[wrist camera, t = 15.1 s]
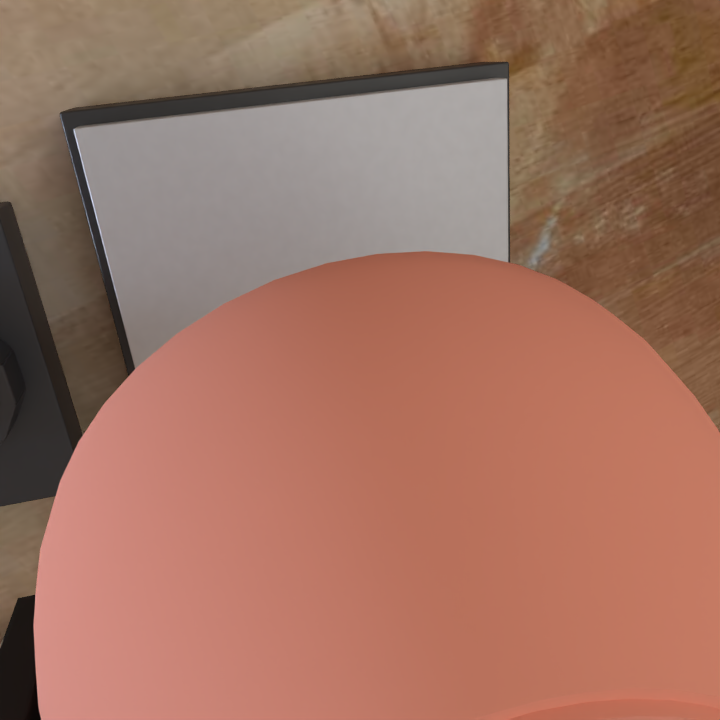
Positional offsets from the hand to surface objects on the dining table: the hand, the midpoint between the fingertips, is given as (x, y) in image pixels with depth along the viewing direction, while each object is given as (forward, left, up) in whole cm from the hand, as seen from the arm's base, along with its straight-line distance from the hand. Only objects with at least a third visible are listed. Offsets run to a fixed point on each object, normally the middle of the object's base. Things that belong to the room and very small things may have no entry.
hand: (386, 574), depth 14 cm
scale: (0, +1, -17) cm, 17 cm away
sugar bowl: (0, 0, -2) cm, 2 cm away
